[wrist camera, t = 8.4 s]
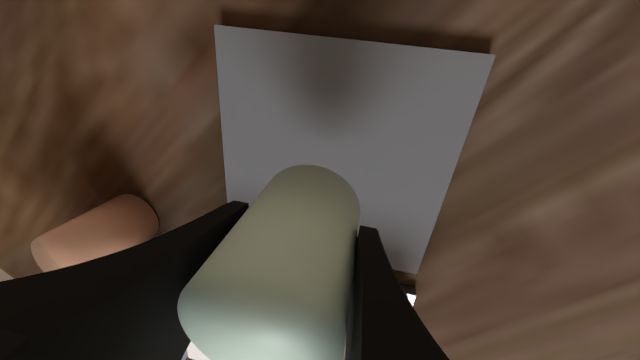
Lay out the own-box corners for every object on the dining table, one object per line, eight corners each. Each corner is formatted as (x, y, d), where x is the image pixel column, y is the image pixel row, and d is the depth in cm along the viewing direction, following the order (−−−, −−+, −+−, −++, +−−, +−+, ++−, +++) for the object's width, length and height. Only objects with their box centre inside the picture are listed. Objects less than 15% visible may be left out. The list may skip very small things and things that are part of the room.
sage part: (352, 257, 13) (333, 404, 8) (264, 238, 13) (189, 363, 8) (368, 173, 11) (356, 297, 6) (263, 156, 11) (163, 253, 6)
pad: (415, 266, 20) (416, 274, 19) (234, 228, 21) (229, 234, 21) (489, 54, 13) (495, 54, 12) (221, 25, 15) (214, 24, 14)
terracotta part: (165, 239, 23) (100, 293, 18) (124, 236, 24) (52, 286, 19) (148, 194, 22) (71, 238, 16) (105, 193, 23) (19, 234, 17)
